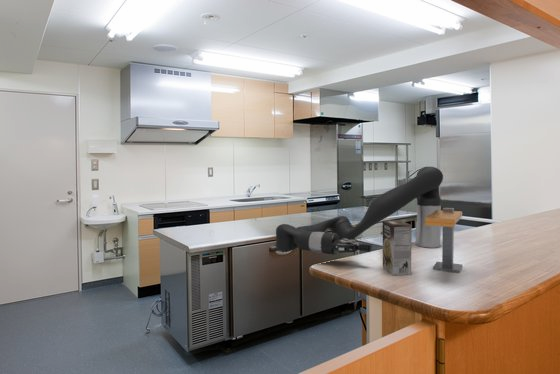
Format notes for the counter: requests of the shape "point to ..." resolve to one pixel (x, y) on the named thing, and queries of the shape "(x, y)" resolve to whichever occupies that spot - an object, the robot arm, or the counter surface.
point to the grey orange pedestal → (446, 237)
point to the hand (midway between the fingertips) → (371, 248)
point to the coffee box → (397, 247)
